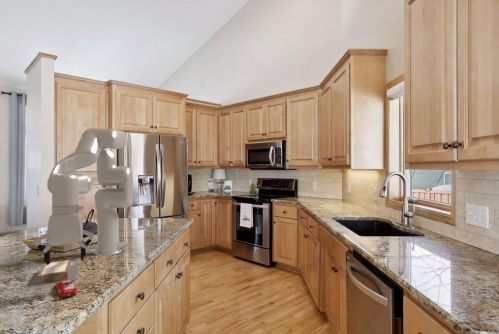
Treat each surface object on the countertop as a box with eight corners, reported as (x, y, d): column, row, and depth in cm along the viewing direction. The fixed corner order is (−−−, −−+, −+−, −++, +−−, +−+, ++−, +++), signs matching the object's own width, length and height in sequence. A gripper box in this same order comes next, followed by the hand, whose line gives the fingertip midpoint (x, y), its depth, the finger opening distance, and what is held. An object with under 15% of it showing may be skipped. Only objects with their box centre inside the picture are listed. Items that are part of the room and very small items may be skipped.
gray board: (78, 266, 121) (78, 264, 121) (75, 282, 105) (75, 280, 105) (37, 272, 115) (37, 270, 115) (27, 290, 98) (27, 288, 98)
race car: (55, 288, 101) (55, 276, 101) (73, 284, 104) (73, 273, 104) (58, 301, 90) (58, 289, 90) (78, 296, 93) (77, 284, 93)
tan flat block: (70, 267, 118) (70, 259, 118) (67, 279, 105) (67, 270, 105) (44, 271, 114) (44, 263, 114) (37, 284, 101) (37, 275, 101)
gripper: (94, 207, 104) (94, 255, 104) (36, 211, 96) (36, 262, 96) (94, 210, 98) (94, 260, 97) (31, 214, 89) (31, 269, 89)
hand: (65, 261), depth 96 cm, fingers open, 9 cm apart
